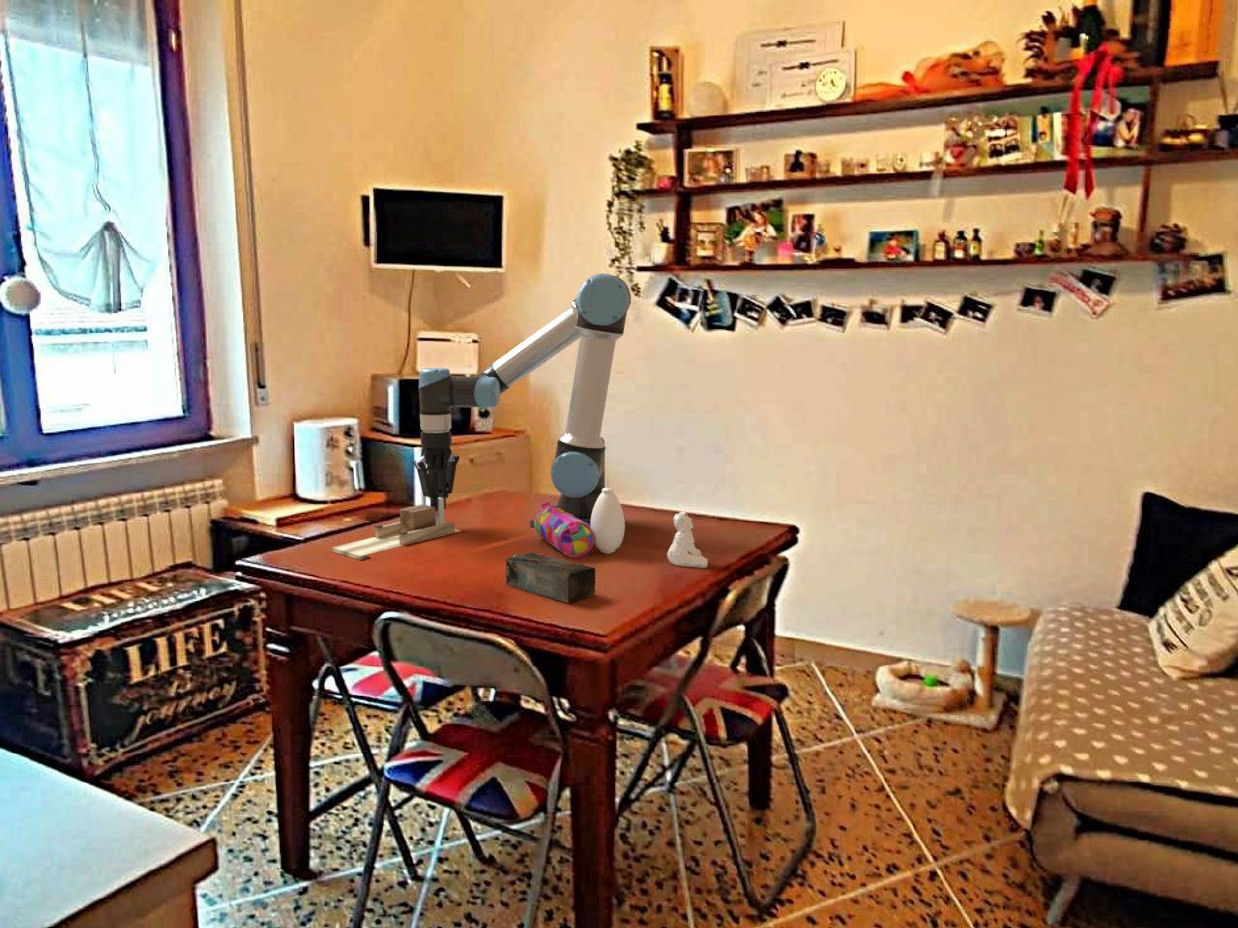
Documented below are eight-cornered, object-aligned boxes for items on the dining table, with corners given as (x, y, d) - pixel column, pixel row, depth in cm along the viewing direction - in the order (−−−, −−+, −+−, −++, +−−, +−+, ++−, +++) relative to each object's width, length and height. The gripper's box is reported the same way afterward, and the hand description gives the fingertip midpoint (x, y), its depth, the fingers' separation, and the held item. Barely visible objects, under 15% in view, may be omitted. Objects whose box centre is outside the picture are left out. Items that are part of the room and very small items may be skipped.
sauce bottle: (603, 546, 227) (603, 472, 224) (630, 551, 223) (631, 476, 219) (584, 553, 221) (583, 478, 217) (611, 559, 216) (611, 482, 213)
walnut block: (436, 532, 236) (435, 507, 234) (413, 538, 230) (412, 512, 229) (423, 529, 239) (422, 504, 238) (400, 535, 233) (399, 509, 232)
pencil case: (528, 539, 234) (528, 503, 233) (564, 535, 238) (563, 500, 237) (560, 561, 215) (559, 523, 213) (598, 557, 219) (598, 519, 217)
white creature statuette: (709, 568, 210) (710, 515, 207) (671, 570, 208) (672, 517, 206) (699, 556, 219) (700, 506, 217) (662, 558, 217) (663, 507, 215)
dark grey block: (532, 577, 204) (532, 547, 202) (597, 596, 191) (597, 565, 190) (504, 585, 198) (504, 555, 197) (569, 606, 185) (569, 573, 184)
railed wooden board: (461, 534, 238) (461, 518, 237) (360, 560, 215) (359, 542, 214) (432, 527, 245) (432, 511, 244) (331, 551, 222) (330, 534, 222)
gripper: (446, 426, 242) (449, 516, 247) (405, 431, 232) (408, 525, 237) (466, 429, 237) (468, 520, 242) (424, 435, 228) (427, 530, 232)
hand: (438, 522), depth 239 cm, fingers closed
